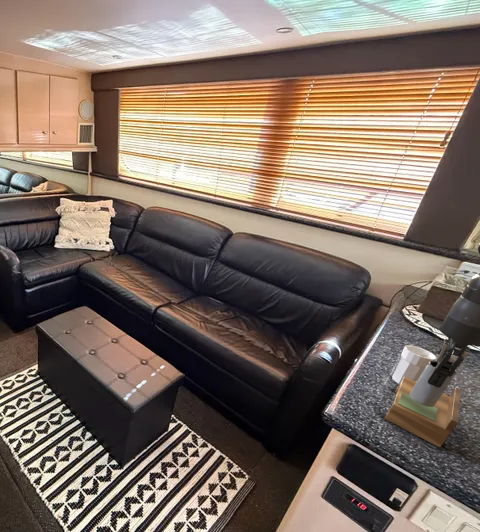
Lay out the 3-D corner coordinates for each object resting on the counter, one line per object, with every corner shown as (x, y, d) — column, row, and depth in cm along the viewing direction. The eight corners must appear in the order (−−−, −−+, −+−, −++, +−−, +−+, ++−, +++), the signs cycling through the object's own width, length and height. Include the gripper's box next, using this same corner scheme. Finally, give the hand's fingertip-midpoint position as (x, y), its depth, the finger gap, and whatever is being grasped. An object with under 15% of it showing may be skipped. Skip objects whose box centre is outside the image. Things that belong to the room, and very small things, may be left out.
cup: (395, 372, 100) (411, 343, 96) (422, 387, 95) (441, 357, 90) (383, 376, 98) (400, 347, 94) (411, 392, 92) (429, 361, 88)
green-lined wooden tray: (396, 389, 92) (409, 367, 89) (445, 412, 85) (461, 389, 82) (384, 418, 81) (398, 394, 78) (439, 447, 74) (458, 422, 71)
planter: (404, 391, 81) (424, 358, 78) (426, 396, 80) (447, 363, 76) (415, 404, 77) (437, 370, 74) (438, 409, 76) (461, 375, 72)
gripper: (500, 338, 63) (455, 403, 69) (498, 318, 72) (458, 378, 78) (446, 321, 68) (409, 383, 75) (450, 304, 77) (416, 361, 83)
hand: (434, 380), depth 76 cm, fingers closed on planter, 4 cm apart
